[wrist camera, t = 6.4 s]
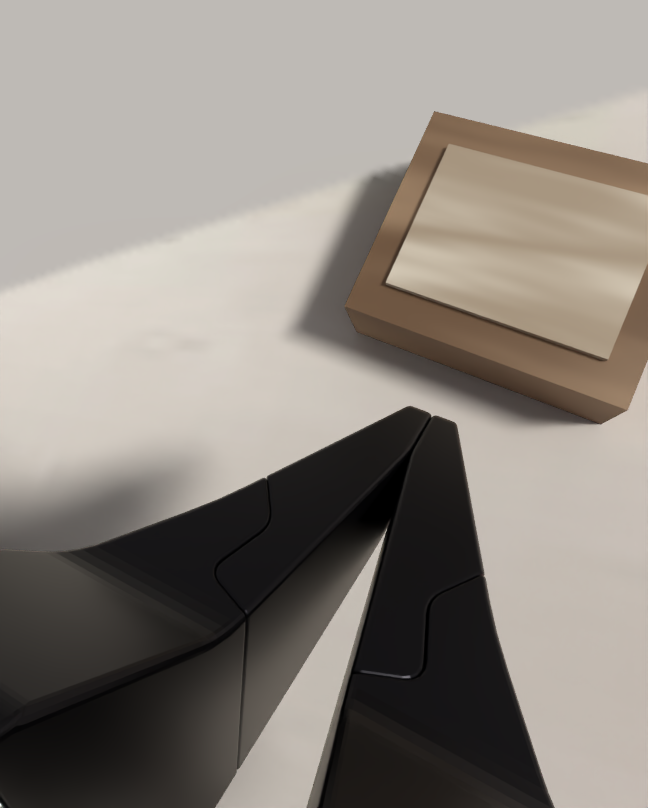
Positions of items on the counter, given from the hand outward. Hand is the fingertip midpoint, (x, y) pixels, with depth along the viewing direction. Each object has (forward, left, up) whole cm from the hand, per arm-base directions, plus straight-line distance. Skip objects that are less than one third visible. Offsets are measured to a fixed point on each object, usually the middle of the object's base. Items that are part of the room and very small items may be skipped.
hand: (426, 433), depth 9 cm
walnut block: (+3, -2, -9) cm, 10 cm away
